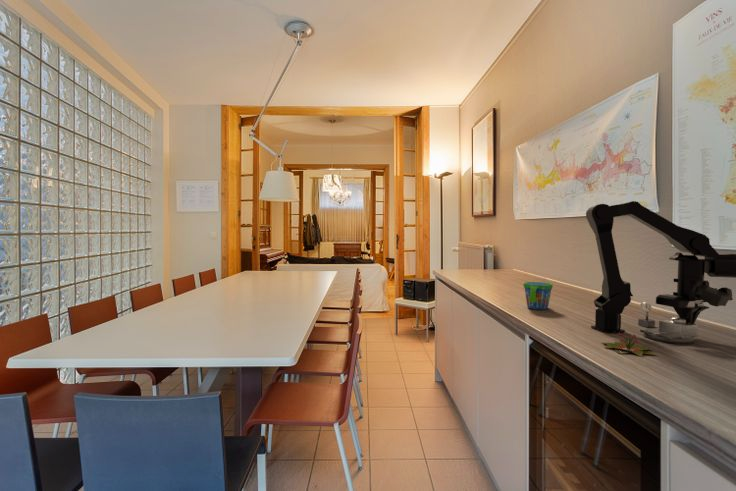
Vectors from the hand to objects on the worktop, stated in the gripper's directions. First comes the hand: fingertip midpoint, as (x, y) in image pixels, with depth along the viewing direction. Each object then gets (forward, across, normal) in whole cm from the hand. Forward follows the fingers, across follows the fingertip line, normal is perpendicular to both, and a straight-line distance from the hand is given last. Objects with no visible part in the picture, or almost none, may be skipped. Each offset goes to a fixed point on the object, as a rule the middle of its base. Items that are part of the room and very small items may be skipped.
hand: (688, 328), depth 102 cm
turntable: (+2, -8, 0) cm, 8 cm away
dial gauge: (+2, 0, +12) cm, 12 cm away
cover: (0, -4, 0) cm, 5 cm away
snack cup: (+3, -16, +43) cm, 46 cm away
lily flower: (+3, -28, -5) cm, 29 cm away
